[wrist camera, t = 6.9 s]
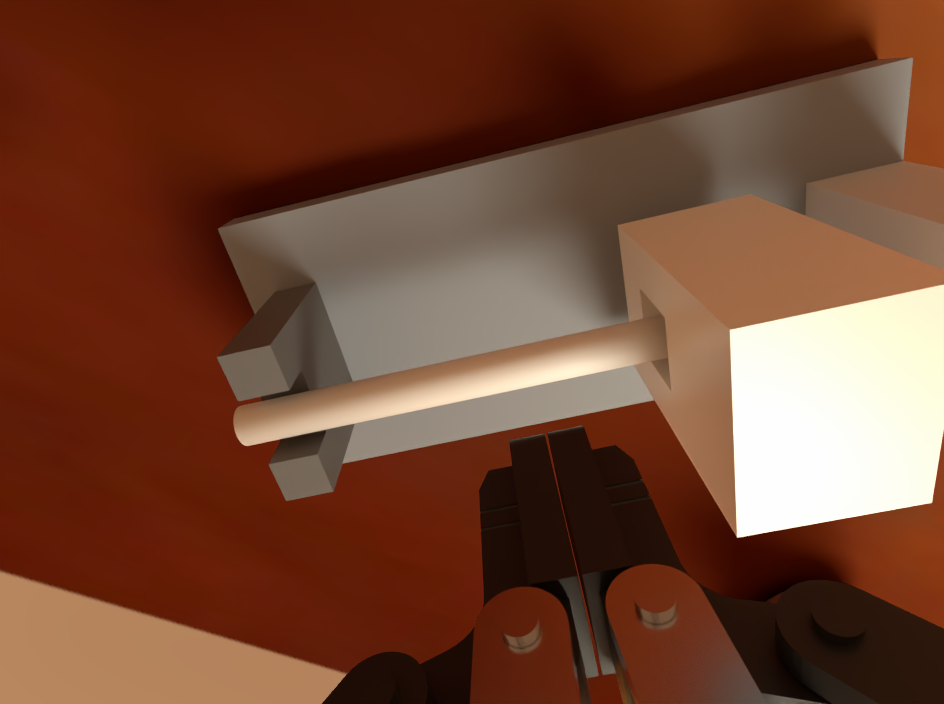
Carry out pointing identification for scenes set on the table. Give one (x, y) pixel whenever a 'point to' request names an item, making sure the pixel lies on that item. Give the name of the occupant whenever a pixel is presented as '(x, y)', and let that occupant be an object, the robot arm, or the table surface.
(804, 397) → the sleeve
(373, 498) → the table surface
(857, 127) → the rod slider fixture
